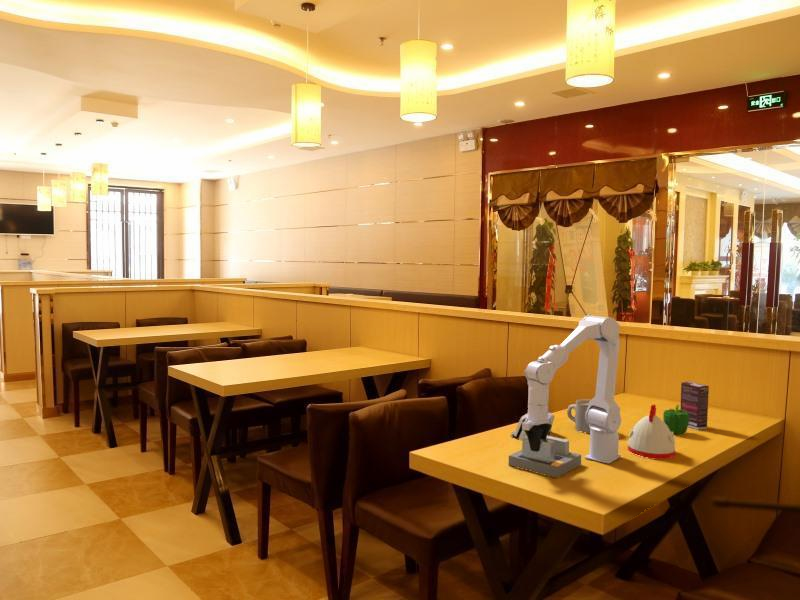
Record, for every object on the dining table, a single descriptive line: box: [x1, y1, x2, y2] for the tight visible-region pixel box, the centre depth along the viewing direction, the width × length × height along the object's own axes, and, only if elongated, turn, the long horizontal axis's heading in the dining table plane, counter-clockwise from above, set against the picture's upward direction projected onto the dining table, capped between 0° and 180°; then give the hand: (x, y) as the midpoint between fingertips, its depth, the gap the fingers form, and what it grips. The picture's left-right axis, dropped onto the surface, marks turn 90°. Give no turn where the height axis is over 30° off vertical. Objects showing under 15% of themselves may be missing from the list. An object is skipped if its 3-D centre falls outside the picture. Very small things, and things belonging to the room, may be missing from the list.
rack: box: [508, 435, 582, 479], centre depth 183 cm, size 16×16×7 cm
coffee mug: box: [566, 398, 592, 434], centre depth 223 cm, size 13×10×10 cm
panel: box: [521, 435, 555, 465], centre depth 179 cm, size 2×9×7 cm, turn 49°
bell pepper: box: [662, 403, 689, 435], centre depth 218 cm, size 8×8×10 cm
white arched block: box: [509, 410, 555, 441], centre depth 215 cm, size 17×5×10 cm, turn 131°
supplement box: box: [679, 381, 710, 431], centre depth 227 cm, size 9×5×16 cm, turn 22°
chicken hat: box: [627, 404, 676, 460], centre depth 197 cm, size 14×14×15 cm
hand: (537, 449), depth 179 cm, fingers closed on panel, 2 cm apart
